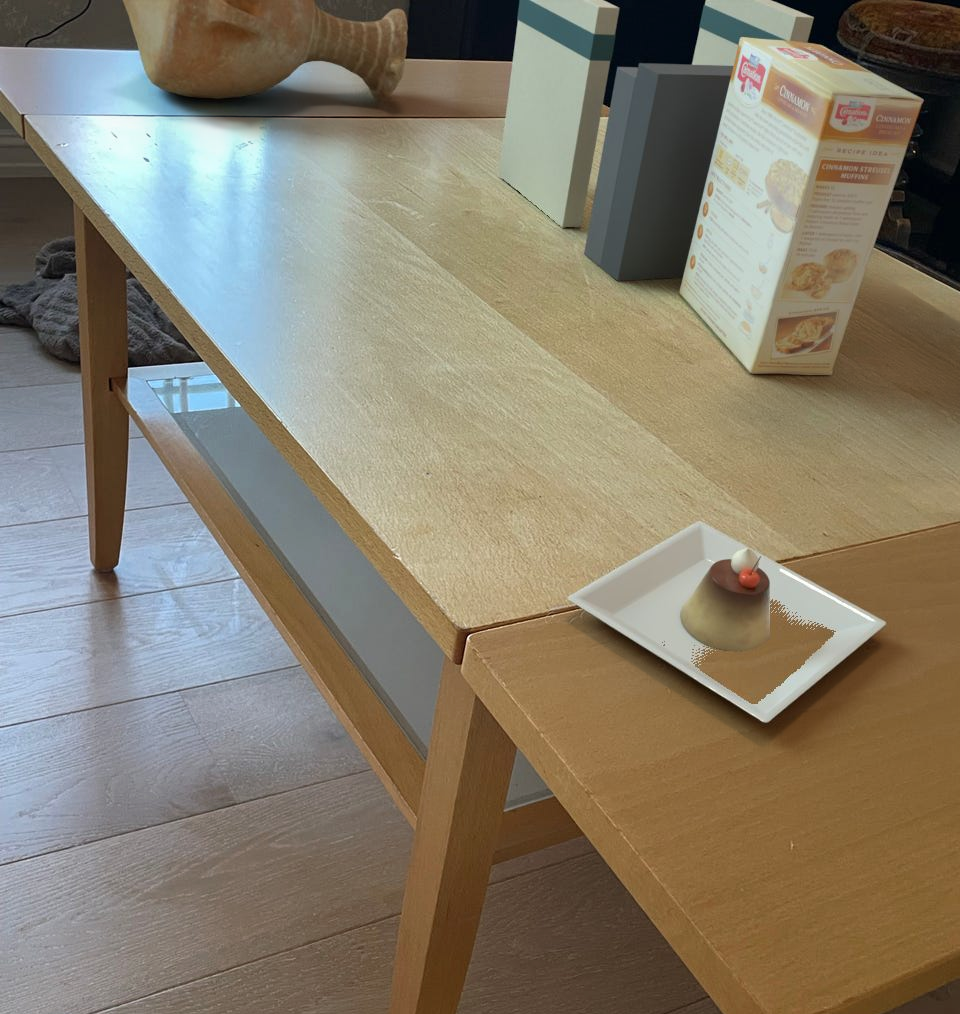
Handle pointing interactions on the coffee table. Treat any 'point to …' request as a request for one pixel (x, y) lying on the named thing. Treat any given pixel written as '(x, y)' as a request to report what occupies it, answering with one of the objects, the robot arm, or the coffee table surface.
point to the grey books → (655, 167)
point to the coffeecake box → (794, 202)
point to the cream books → (595, 87)
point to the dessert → (721, 609)
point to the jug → (260, 45)
